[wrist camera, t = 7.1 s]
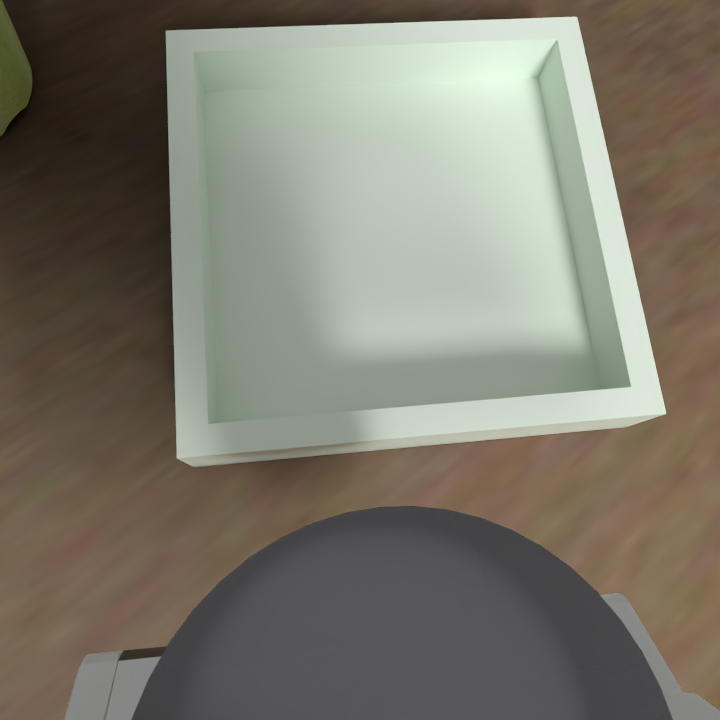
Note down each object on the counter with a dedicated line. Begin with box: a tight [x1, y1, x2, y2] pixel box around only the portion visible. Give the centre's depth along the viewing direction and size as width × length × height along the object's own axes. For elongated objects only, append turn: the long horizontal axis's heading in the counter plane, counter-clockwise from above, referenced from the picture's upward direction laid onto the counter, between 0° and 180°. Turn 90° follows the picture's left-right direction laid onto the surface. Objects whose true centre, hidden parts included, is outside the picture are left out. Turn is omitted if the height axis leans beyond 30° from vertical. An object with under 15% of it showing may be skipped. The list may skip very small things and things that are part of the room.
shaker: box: [131, 506, 673, 720], centre depth 10 cm, size 5×5×10 cm
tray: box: [166, 17, 666, 467], centre depth 24 cm, size 16×16×3 cm
